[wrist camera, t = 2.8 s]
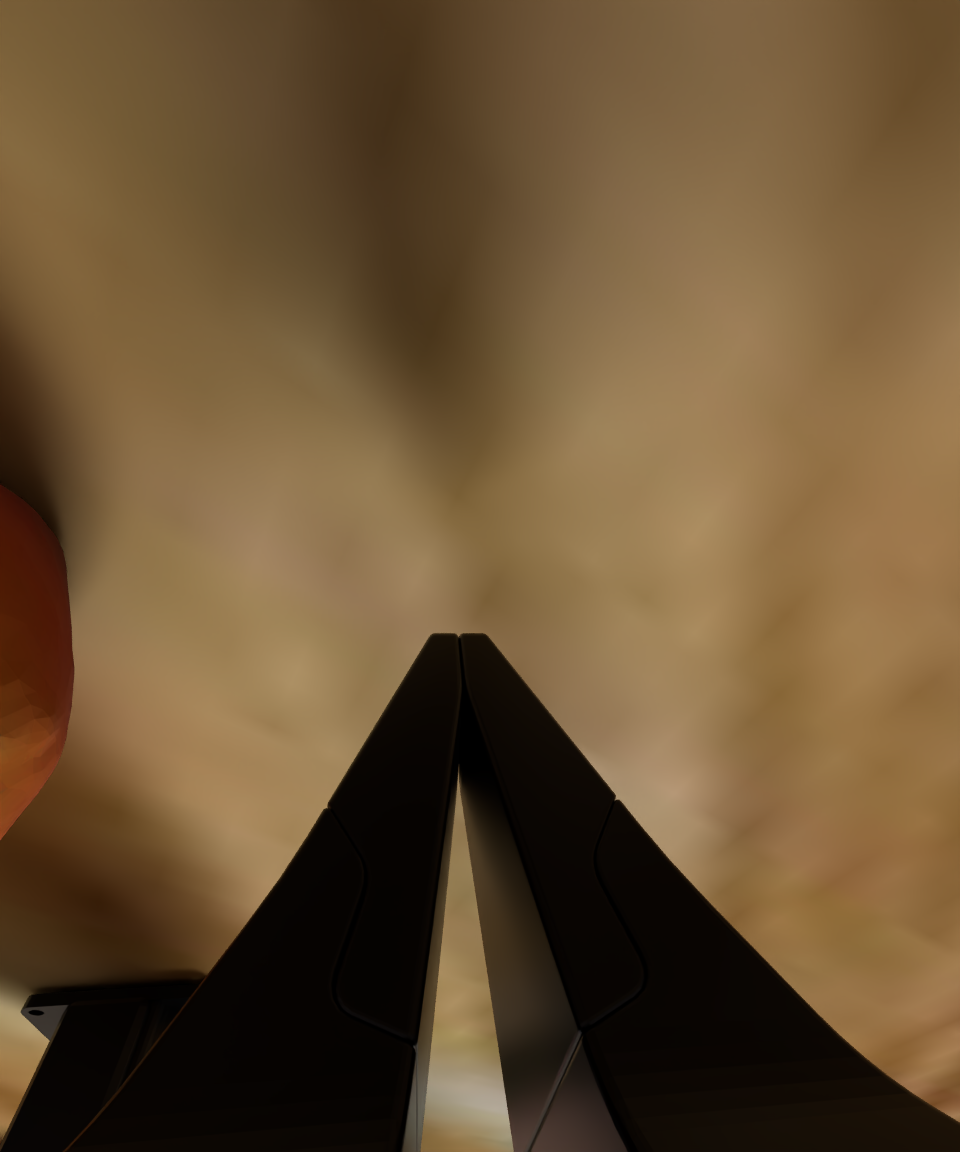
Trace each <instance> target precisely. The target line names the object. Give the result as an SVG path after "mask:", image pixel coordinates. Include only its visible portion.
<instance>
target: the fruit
mask: <svg viewBox="0 0 960 1152" xmlns="http://www.w3.org/2000/svg"><path fill="white" fill-rule="evenodd" d="M73 683H74V661H73V651H72V626H71V615H70V604H69V593H68V583H67V568H66V562H65V558H64V553H63V550H62V548H61V546H60V543H59V541H58V539H57V538H56V536H55V534H54V533H53V532H52V530H51V529H50V528H49V527H48V526H47V524H46V523H45V522H44V521H43V519H42V518H41V517H40V515H39V514H38V513H37V512H36V511H35V510H34V509H33V508H32V507H31V506H30V505H28V504H27V503H26V502H25V501H24V500H23V499H22V498H20V497H19V496H17V495H16V494H14V493H13V492H11V491H10V490H8V489H7V488H5V487H4V486H2V485H1V484H0V840H1V839H2V837H3V836H4V835H5V834H6V832H7V831H8V830H9V829H10V827H11V826H12V825H13V823H14V822H15V821H16V820H17V818H18V817H19V816H20V815H21V813H22V812H23V811H24V810H25V808H26V807H27V806H28V805H29V804H30V802H31V801H32V800H33V799H34V798H35V796H36V795H37V794H38V793H39V791H40V790H41V788H42V787H43V785H44V784H45V782H46V781H47V779H48V778H49V776H50V775H51V774H52V772H53V771H54V769H55V767H56V765H57V763H58V761H59V759H60V757H61V754H62V751H63V747H64V744H65V741H66V737H67V728H68V723H69V718H70V713H71V707H72V695H73Z"/></svg>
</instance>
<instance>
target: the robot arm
mask: <svg viewBox="0 0 960 1152" xmlns="http://www.w3.org/2000/svg"><path fill="white" fill-rule="evenodd" d="M458 770H459V783H460V792H461V799H462V806H463V812H464V819H465V826H466V832H467V839H468V846H469V853H470V859H471V866H472V873H473V879H474V886H475V893H476V900H477V906H478V913H479V920H480V926H481V933H482V940H483V947H484V953H485V960H486V967H487V973H488V980H489V987H490V994H491V1000H492V1007H493V1014H494V1020H495V1027H496V1034H497V1041H498V1047H499V1054H500V1061H501V1067H502V1074H503V1081H504V1088H505V1094H506V1101H507V1108H508V1114H509V1121H510V1128H511V1135H512V1141H513V1148H514V1152H960V1122H958V1121H956V1120H955V1119H953V1118H951V1117H950V1116H948V1115H946V1114H945V1113H943V1112H941V1111H940V1110H938V1109H937V1108H935V1107H933V1106H932V1105H930V1104H929V1103H927V1102H925V1101H924V1100H922V1099H921V1098H919V1097H918V1096H916V1095H914V1094H913V1093H912V1092H910V1091H909V1090H907V1089H906V1088H905V1087H903V1086H902V1085H900V1084H899V1083H898V1082H896V1081H895V1080H893V1079H892V1078H891V1077H889V1076H888V1075H886V1074H885V1073H884V1072H883V1071H881V1070H880V1069H879V1068H878V1067H876V1066H875V1065H874V1064H873V1063H871V1062H870V1061H869V1060H868V1059H866V1058H865V1057H864V1056H863V1055H862V1054H860V1053H859V1052H858V1051H857V1050H856V1049H855V1048H854V1047H852V1046H851V1045H850V1044H849V1043H848V1042H847V1041H846V1040H845V1039H843V1038H842V1037H841V1036H840V1035H839V1034H838V1033H837V1032H836V1031H835V1030H834V1029H833V1028H832V1027H831V1026H830V1025H829V1024H828V1023H827V1022H826V1021H825V1020H824V1019H823V1018H822V1017H821V1016H820V1015H818V1014H817V1013H816V1011H815V1010H814V1009H813V1008H812V1007H811V1006H810V1005H809V1004H808V1003H807V1002H806V1001H805V1000H804V999H803V998H802V997H801V996H800V995H799V994H798V993H797V992H796V991H795V990H794V989H793V988H792V987H791V986H790V985H789V984H788V983H787V982H786V981H785V980H784V979H783V978H782V977H781V976H780V975H779V973H778V972H777V971H776V970H775V969H774V968H773V967H772V966H771V965H770V964H769V963H768V962H767V961H766V960H765V959H764V958H763V957H762V956H761V955H760V954H759V953H758V952H757V951H756V950H755V949H754V948H753V947H752V946H751V945H750V944H749V943H748V942H747V941H746V940H745V939H744V938H743V936H742V935H741V934H740V933H739V932H738V931H737V930H736V929H735V928H734V927H733V926H732V925H731V924H730V923H729V922H728V921H727V920H726V919H725V918H724V917H723V916H722V915H721V914H720V913H719V912H718V911H717V910H716V909H715V908H714V907H713V906H712V905H711V904H710V903H709V901H708V900H707V899H706V898H705V897H704V896H703V895H702V894H701V893H700V892H699V891H698V890H697V889H696V888H695V886H694V885H693V884H692V883H691V882H690V881H689V880H688V879H687V878H686V877H685V876H684V875H683V874H682V873H681V871H680V870H679V869H678V868H677V867H676V866H675V865H674V864H673V863H672V862H671V861H670V860H669V858H668V857H667V856H666V855H665V854H664V853H663V851H662V850H661V849H660V848H659V847H658V845H657V844H656V843H655V842H654V841H653V840H652V838H651V837H650V836H649V835H648V834H647V832H646V831H645V830H644V829H643V828H642V827H641V825H640V824H639V823H638V822H637V821H636V819H635V818H634V817H633V816H632V814H631V813H630V812H629V811H628V809H627V808H626V807H625V806H624V804H623V803H622V802H621V801H620V800H615V798H616V795H615V793H614V792H613V791H612V790H611V788H610V787H609V786H608V785H607V783H606V782H605V781H604V780H603V779H602V777H601V776H600V775H599V774H598V772H597V771H596V770H595V769H594V767H593V766H592V765H591V764H590V762H589V761H588V760H587V759H586V757H585V756H584V755H583V754H582V752H581V751H580V750H579V749H578V747H577V746H576V745H575V744H574V742H573V741H572V740H571V739H570V737H569V736H568V735H567V734H566V733H565V731H564V730H563V729H562V728H561V726H560V725H559V724H558V723H557V721H556V720H555V719H554V718H553V716H552V715H551V714H550V713H549V711H548V710H547V709H546V708H545V706H544V705H543V704H542V703H541V701H540V700H539V699H538V698H537V696H536V695H535V694H534V693H533V692H532V690H531V689H530V688H529V687H528V685H527V684H526V683H525V682H524V680H523V679H522V678H521V677H520V675H519V674H518V673H517V672H516V670H515V669H514V668H513V667H512V665H511V664H510V663H509V662H508V660H507V659H506V658H505V657H504V655H503V654H502V653H501V652H500V651H499V649H498V648H497V647H496V646H495V644H494V643H493V642H492V641H491V639H490V638H489V637H488V636H487V635H486V634H483V633H463V634H461V635H460V636H459V637H458V636H457V634H455V633H434V634H431V635H430V637H429V638H428V640H427V641H426V643H425V645H424V646H423V648H422V649H421V651H420V653H419V654H418V656H417V658H416V659H415V661H414V663H413V664H412V666H411V667H410V669H409V671H408V672H407V674H406V676H405V677H404V679H403V681H402V682H401V684H400V686H399V687H398V689H397V690H396V692H395V694H394V695H393V697H392V699H391V700H390V702H389V704H388V705H387V707H386V708H385V710H384V712H383V713H382V715H381V717H380V718H379V720H378V722H377V723H376V725H375V726H374V728H373V730H372V731H371V733H370V735H369V736H368V738H367V740H366V741H365V743H364V745H363V746H362V748H361V749H360V751H359V753H358V754H357V756H356V758H355V759H354V761H353V763H352V764H351V766H350V767H349V769H348V771H347V772H346V774H345V776H344V777H343V779H342V781H341V782H340V784H339V785H338V787H337V789H336V790H335V792H334V794H333V795H332V797H331V799H330V800H329V802H328V804H327V806H328V808H325V809H324V810H323V811H322V813H321V814H320V816H319V818H318V819H317V821H316V823H315V824H314V826H313V828H312V829H311V831H310V832H309V834H308V836H307V837H306V839H305V840H304V842H303V843H302V845H301V846H300V848H299V850H298V851H297V853H296V854H295V856H294V857H293V859H292V860H291V862H290V863H289V865H288V866H287V868H286V869H285V871H284V872H283V874H282V876H281V877H280V879H279V880H278V881H277V883H276V884H275V885H274V887H273V888H272V890H271V891H270V892H269V894H268V895H267V896H266V898H265V899H264V900H263V902H262V903H261V905H260V906H259V907H258V909H257V910H256V911H255V913H254V914H253V915H252V917H251V918H250V920H249V921H248V922H247V924H246V925H245V926H244V928H243V929H242V930H241V932H240V933H239V934H238V936H237V937H236V938H235V939H234V941H233V942H232V943H231V945H230V946H229V947H228V949H227V950H226V951H225V952H224V954H223V955H222V956H221V958H220V959H219V960H218V962H217V963H216V964H215V965H214V967H213V968H212V969H211V971H210V972H209V973H208V975H207V976H206V977H205V978H204V980H203V981H202V982H201V984H192V985H176V986H159V987H143V988H126V989H110V990H93V991H77V992H60V993H44V994H34V995H31V996H29V997H28V998H27V1000H26V1002H25V1004H24V1006H23V1008H22V1010H21V1014H22V1015H23V1016H24V1017H25V1018H26V1019H28V1020H29V1021H30V1022H31V1023H32V1024H33V1025H34V1026H35V1027H36V1028H37V1029H38V1030H39V1031H40V1032H41V1033H42V1034H43V1035H44V1036H45V1037H46V1038H47V1039H49V1040H50V1042H49V1044H48V1046H47V1048H46V1050H45V1052H44V1054H43V1056H42V1058H41V1060H40V1063H39V1065H38V1067H37V1069H36V1071H35V1073H34V1075H33V1077H32V1079H31V1081H30V1084H29V1086H28V1088H27V1090H26V1092H25V1094H24V1096H23V1098H22V1100H21V1102H20V1104H19V1107H18V1109H17V1111H16V1113H15V1115H14V1117H13V1119H12V1121H11V1123H10V1125H9V1127H8V1130H7V1132H6V1134H5V1136H4V1138H3V1140H2V1142H1V1144H0V1152H420V1150H421V1140H422V1130H423V1121H424V1111H425V1101H426V1091H427V1081H428V1071H429V1061H430V1051H431V1042H432V1032H433V1022H434V1012H435V1002H436V992H437V982H438V973H439V963H440V953H441V943H442V933H443V923H444V913H445V903H446V894H447V884H448V874H449V864H450V854H451V844H452V834H453V824H454V815H455V805H456V795H457V781H458Z"/></svg>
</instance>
